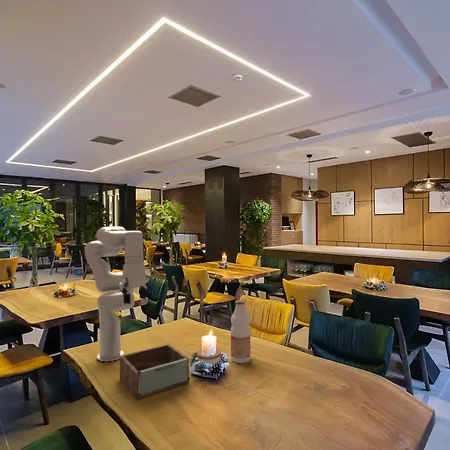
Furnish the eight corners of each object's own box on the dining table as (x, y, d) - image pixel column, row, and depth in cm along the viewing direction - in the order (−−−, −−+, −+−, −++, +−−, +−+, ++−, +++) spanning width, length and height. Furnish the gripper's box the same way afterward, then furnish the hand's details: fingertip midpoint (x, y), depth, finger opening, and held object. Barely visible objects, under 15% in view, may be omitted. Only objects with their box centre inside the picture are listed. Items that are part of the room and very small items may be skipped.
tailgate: (140, 393, 120) (140, 371, 120) (186, 378, 131) (185, 358, 131) (142, 395, 119) (142, 373, 119) (188, 380, 130) (188, 359, 130)
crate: (120, 379, 135) (119, 355, 135) (168, 365, 148) (168, 343, 148) (137, 401, 119) (136, 374, 118) (190, 383, 131) (190, 359, 131)
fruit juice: (240, 365, 148) (239, 304, 148) (226, 358, 155) (226, 300, 155) (254, 359, 154) (254, 301, 154) (241, 353, 161) (240, 297, 161)
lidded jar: (199, 376, 137) (199, 354, 137) (194, 365, 148) (194, 345, 148) (223, 373, 140) (223, 351, 140) (217, 363, 151) (217, 343, 151)
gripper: (141, 258, 145) (142, 296, 145) (112, 262, 130) (113, 304, 129) (154, 258, 142) (155, 297, 142) (126, 262, 126) (127, 306, 126)
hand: (135, 301), depth 135 cm, fingers open, 9 cm apart
